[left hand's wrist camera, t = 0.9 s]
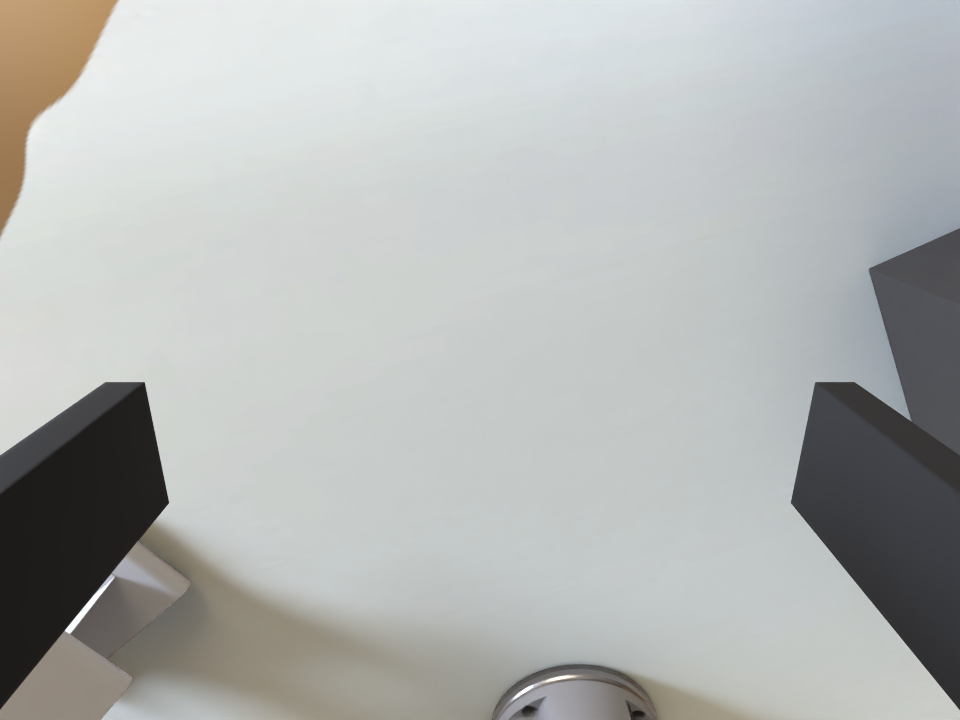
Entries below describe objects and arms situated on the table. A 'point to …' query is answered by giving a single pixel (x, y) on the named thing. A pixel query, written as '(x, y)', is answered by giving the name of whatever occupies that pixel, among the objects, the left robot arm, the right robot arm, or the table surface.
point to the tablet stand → (97, 643)
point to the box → (926, 332)
